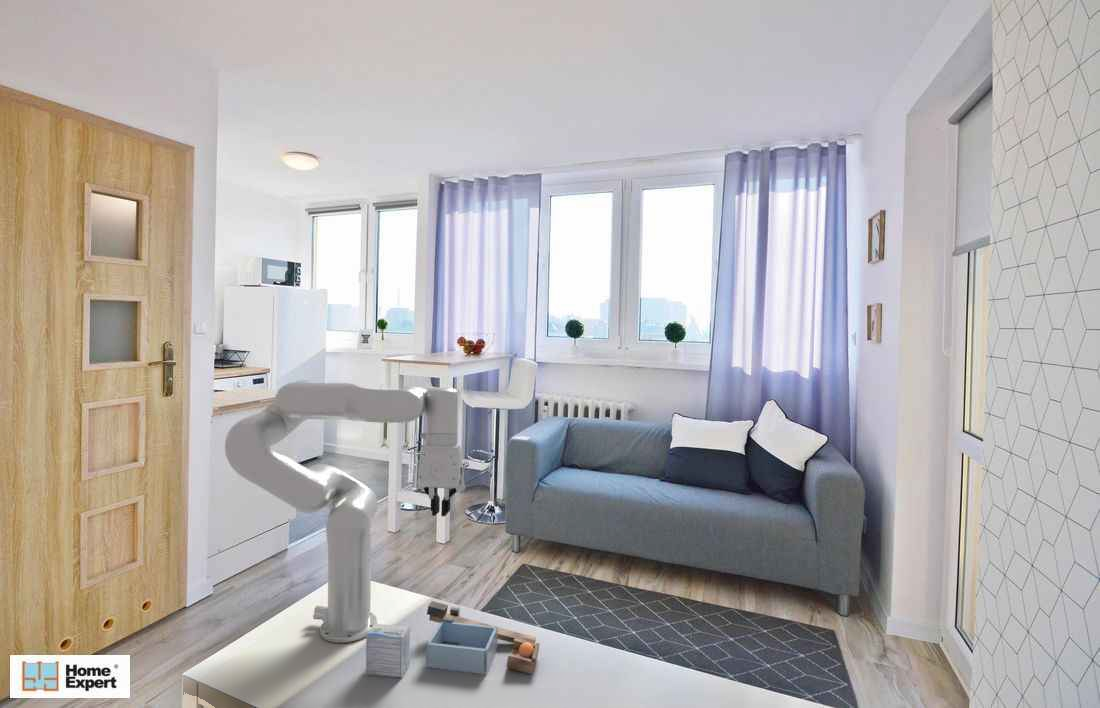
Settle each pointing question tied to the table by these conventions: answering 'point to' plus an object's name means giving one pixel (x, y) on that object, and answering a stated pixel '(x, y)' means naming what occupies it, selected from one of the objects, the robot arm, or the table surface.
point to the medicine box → (388, 650)
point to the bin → (462, 647)
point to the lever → (514, 659)
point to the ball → (526, 650)
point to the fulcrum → (449, 620)
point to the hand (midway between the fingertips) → (440, 513)
